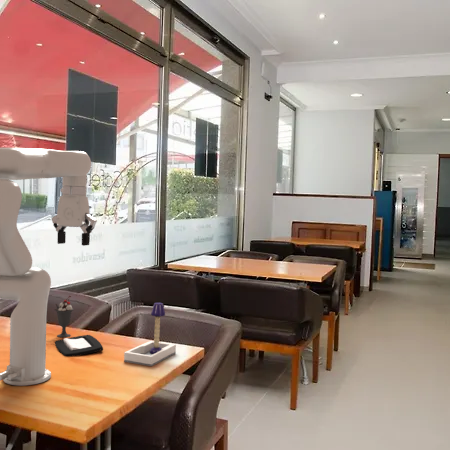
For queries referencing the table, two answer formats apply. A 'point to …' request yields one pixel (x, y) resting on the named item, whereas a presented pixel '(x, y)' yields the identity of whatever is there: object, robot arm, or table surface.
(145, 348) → the white rimmed dish
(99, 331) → the table surface
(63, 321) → the sundae
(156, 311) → the toy lamp
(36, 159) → the robot arm
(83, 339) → the light switch
